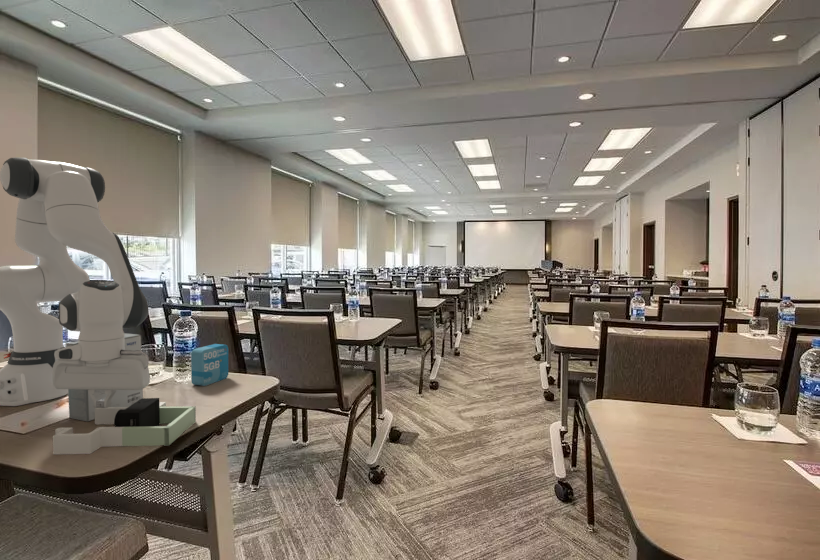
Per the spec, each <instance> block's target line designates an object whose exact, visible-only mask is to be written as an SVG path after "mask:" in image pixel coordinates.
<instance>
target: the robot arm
mask: <svg viewBox="0 0 820 560" xmlns="http://www.w3.org/2000/svg"><path fill="white" fill-rule="evenodd" d="M0 183H1V186H2V188H3V190H4V192H6V194H8V195H9V196H12V197H14V198H18V204H17V209H16V219H15V234H14V242H15V244H16V246H17V247H18V249H20V250H21V251H23V252H25V253H27V254H29V255H32V256H34V257H37V258H39V259H38V260H39V264H35V265H1V266H0V311H1V312H2V314H4V315H5V317H6V318H7V320H8V321H9V324H10V326H11V330H12V331H11V332H12V340H13V350H12V351H11V352H9V353H5V354H3V356H4V357H3V359H8V360H7V362H6V364H5V365H4V366H3V367H1V368H0V406H2V407H3V406H5V407H17V406H23V405H28V404H32V403H37V402H44V401H49V400H53V399H57V398H60V397H64V396H65V395H68V389H83V390H88V394H89V396H90V397H91V398H92V400H93V401H94V408H108V407H110V406H111V399H112V397H113V396H114V394H115V393H116V390H141V389H143V390H144V389H145V388H146V387H148V386H149V384H150V382H151V380H150V379H151V376H150V370H149V355H147V354H146V352H143V350H141V351H140V350H136V351H132V350H125V335H124V333H125V331H124V329H135V328H137V327H138V326H140V325H141V324H142V323H143V322H144V321H145V320H146V319H147V317H148V315H149V303H148V301H147V298H146V297H145V295H144V293H143V291H142V289H141V288H140V285H139V282H138V281H137V278H136V275H135V272H134V271H133V268H132V264H131V262H130V259H129V256H128V254H127V252H126V249H125V246H124V245H123V242H122V241H121V239H120V237H119V235H117V234H116V233H114V232H112V231H111V230H110V229H109V228H108V227H107V226H106V224H105V222H104V220H103V219H102V217H101V214H100V213H101V212H100V208H99V207H100V206H99V202H101V201H102V200H103V199H104V196H105V193H106V192H105V191H106V182H105V179H104V176H103V175H102V174H101V172H99V170H96V169H94V168H91V167H86V166H81V165H80V166H79V165H76V164H73V163H67V162H62V161H53V160H52V161H50V160H45V159H44V160H43V159H31V158H30V159H28V157H10V158H8V159H6V160H5V161H4V162H3V163H2V167H1V168H0ZM67 247H68V248H70V249H73V250H77V251H81V252H84V253H88V254H89V255H92V256H94V257H97V258H99V259H100V260H102V261H103V262H104V263H105V264H106V265H107V267H108V269H109V271H110V274H111V277H112V279H113V280H106V279H91V280H90V276H89V274H88V272H86V270H84V269H83V268H82V267H80V266H79V265H78V264H77V263H75V262H74V261H73V259H72V258H71V256H70V254H69V252H68V248H67ZM47 302H49V303H50V302H58V317H56V316H53V315H52V314H49V313H46V312H42V311H40V309H39V307H38V303H47ZM63 327H64V328H65V329H66V330H68V331H70V332H79V334H78V339H77V341H78V343H76V344H73V345H71V346H68V347H66V346H64V336H63V335H64V334H63ZM100 390H105V394H107V396H106V398H101V396H100V395H99V393H98V392H99V391H100Z"/></svg>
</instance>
